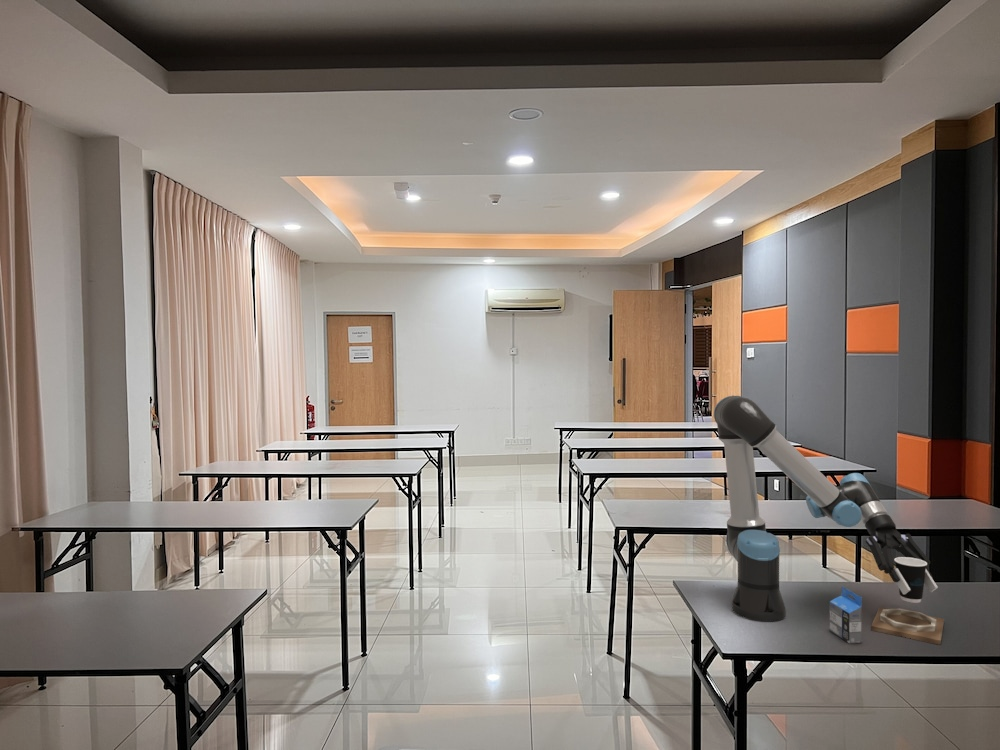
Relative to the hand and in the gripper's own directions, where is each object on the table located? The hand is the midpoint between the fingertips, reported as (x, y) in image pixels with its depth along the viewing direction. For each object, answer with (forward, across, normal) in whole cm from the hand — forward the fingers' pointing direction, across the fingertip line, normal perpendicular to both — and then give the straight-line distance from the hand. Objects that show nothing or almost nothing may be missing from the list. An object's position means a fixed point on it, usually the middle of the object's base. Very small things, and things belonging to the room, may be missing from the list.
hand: (920, 590), depth 178 cm
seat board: (+5, +1, -11) cm, 12 cm away
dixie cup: (0, 0, -5) cm, 5 cm away
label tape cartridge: (+7, +23, -9) cm, 26 cm away
